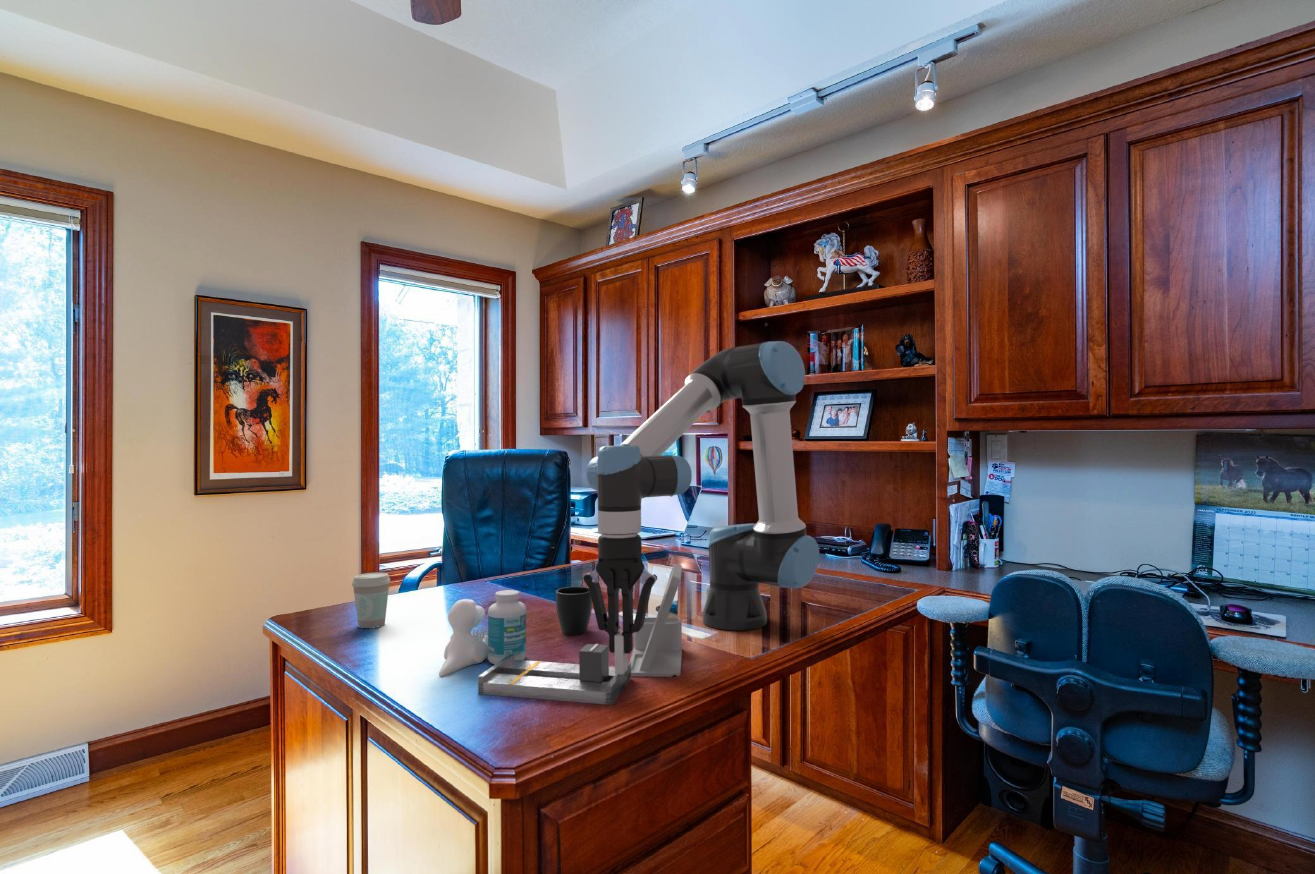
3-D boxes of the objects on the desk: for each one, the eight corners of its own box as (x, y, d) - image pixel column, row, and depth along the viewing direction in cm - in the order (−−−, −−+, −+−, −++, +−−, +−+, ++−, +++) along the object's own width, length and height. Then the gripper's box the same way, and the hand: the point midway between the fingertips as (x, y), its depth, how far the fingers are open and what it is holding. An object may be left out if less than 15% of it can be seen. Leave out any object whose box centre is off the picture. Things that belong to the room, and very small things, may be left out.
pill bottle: (507, 669, 123) (506, 598, 123) (480, 662, 127) (479, 593, 127) (534, 658, 129) (533, 590, 130) (507, 652, 133) (507, 586, 134)
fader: (608, 678, 114) (608, 644, 114) (601, 686, 110) (601, 651, 110) (587, 676, 115) (587, 642, 115) (579, 685, 111) (579, 649, 111)
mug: (600, 622, 154) (600, 583, 155) (587, 637, 143) (586, 594, 143) (567, 621, 156) (567, 582, 156) (551, 636, 144) (551, 593, 144)
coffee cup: (347, 625, 155) (346, 575, 155) (383, 618, 161) (383, 570, 161) (358, 632, 149) (358, 580, 149) (396, 625, 155) (395, 575, 155)
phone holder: (635, 646, 136) (634, 561, 136) (683, 647, 135) (681, 561, 136) (626, 676, 119) (625, 578, 119) (681, 676, 118) (680, 578, 118)
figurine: (507, 648, 136) (506, 589, 136) (460, 678, 119) (460, 610, 119) (471, 645, 138) (470, 587, 138) (420, 675, 121) (419, 608, 121)
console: (631, 678, 117) (631, 662, 117) (611, 704, 105) (611, 686, 105) (509, 669, 123) (509, 653, 123) (478, 693, 111) (478, 676, 111)
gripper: (661, 532, 114) (663, 666, 113) (591, 530, 117) (592, 661, 116) (651, 538, 106) (652, 681, 106) (576, 536, 109) (578, 676, 109)
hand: (621, 671), depth 111 cm, fingers closed
